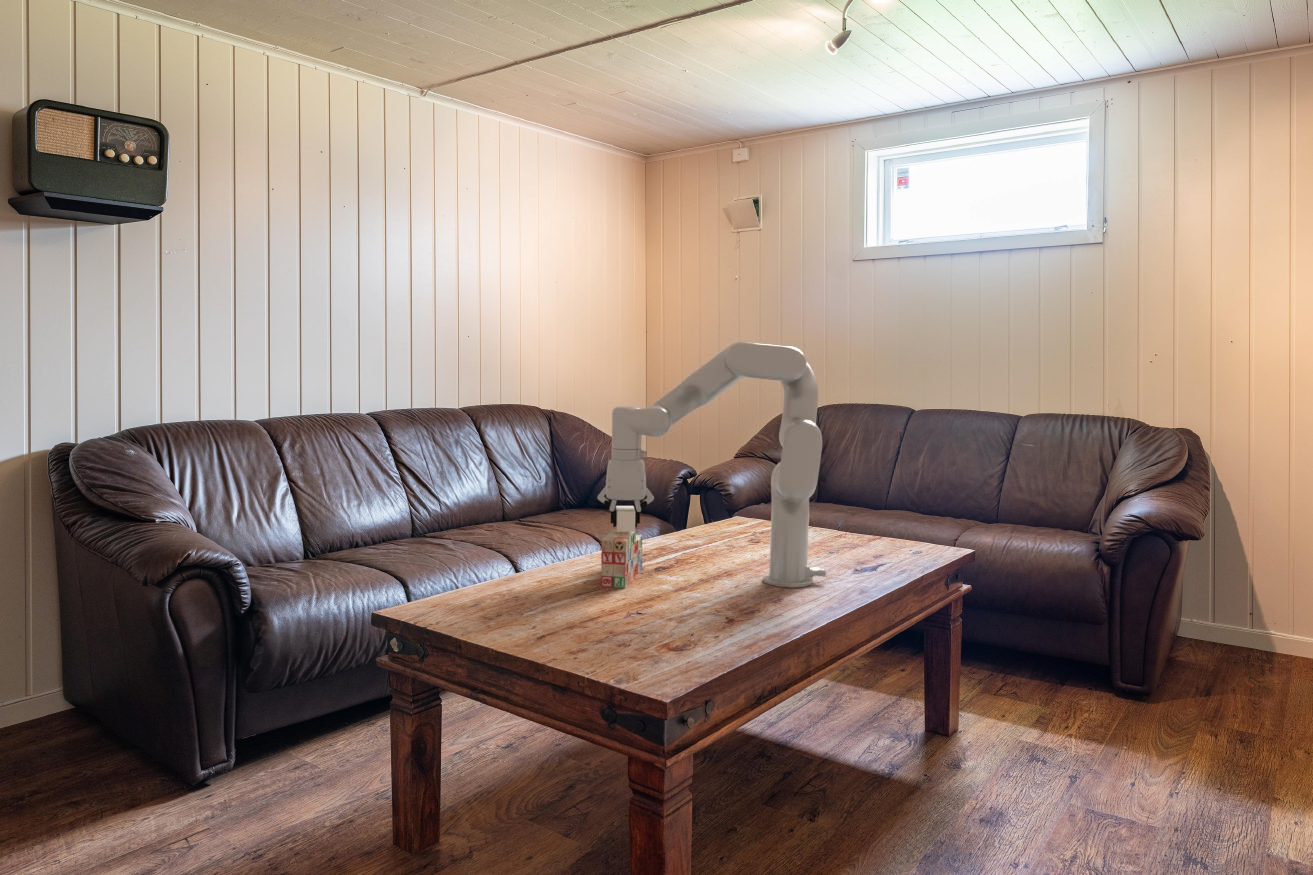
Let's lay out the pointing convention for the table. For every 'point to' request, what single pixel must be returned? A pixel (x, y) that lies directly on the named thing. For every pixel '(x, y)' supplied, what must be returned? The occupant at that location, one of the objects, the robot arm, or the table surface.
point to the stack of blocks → (620, 558)
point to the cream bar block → (625, 519)
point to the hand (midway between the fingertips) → (625, 525)
